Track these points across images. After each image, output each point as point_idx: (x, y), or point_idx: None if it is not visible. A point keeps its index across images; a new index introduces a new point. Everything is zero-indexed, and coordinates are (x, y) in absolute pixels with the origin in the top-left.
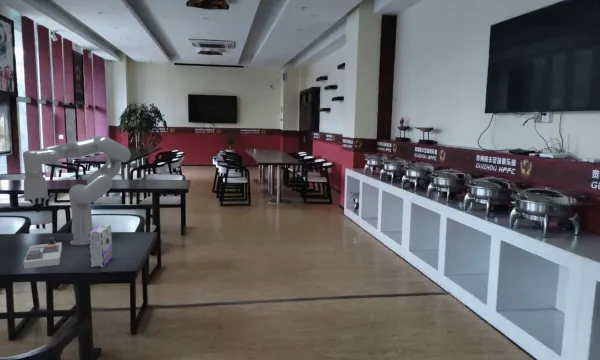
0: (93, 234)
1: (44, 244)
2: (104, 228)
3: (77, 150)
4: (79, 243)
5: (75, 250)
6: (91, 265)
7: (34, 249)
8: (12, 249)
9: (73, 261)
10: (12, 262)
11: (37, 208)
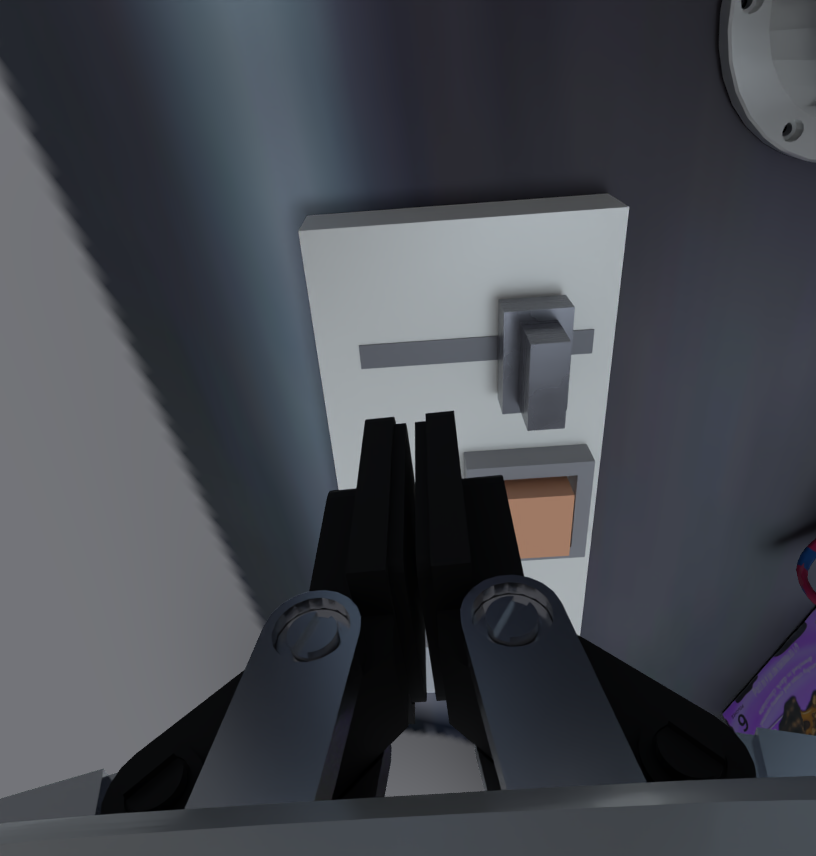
0: None
1: (445, 238)
2: None
3: None
4: (807, 157)
5: (713, 339)
6: (730, 724)
7: (427, 674)
8: (56, 29)
9: (652, 603)
10: (252, 510)
11: (415, 536)
